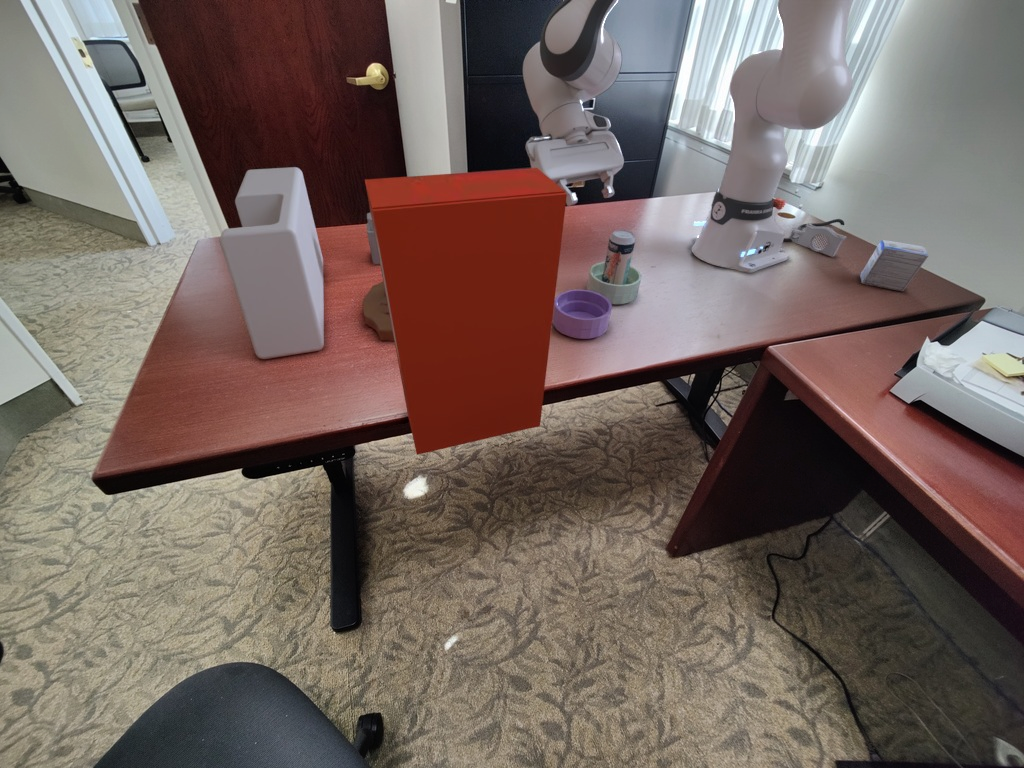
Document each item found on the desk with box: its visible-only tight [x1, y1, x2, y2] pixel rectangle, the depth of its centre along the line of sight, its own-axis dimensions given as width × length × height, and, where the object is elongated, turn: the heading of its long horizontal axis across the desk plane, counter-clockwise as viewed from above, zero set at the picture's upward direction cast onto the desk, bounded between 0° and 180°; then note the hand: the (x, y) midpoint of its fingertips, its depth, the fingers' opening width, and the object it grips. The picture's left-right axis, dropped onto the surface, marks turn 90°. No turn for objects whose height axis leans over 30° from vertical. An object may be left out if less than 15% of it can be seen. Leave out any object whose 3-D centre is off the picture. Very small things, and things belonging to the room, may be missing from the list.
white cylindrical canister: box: [602, 229, 636, 285], centre depth 86 cm, size 5×5×12 cm
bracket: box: [219, 166, 325, 360], centre depth 79 cm, size 30×10×30 cm, turn 18°
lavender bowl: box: [552, 288, 613, 340], centre depth 79 cm, size 10×10×4 cm
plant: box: [362, 281, 394, 342], centre depth 79 cm, size 20×20×11 cm
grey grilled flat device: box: [788, 222, 847, 258], centre depth 108 cm, size 12×2×6 cm, turn 34°
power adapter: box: [366, 210, 380, 265], centre depth 94 cm, size 3×5×12 cm, turn 15°
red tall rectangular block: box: [364, 167, 567, 456], centre depth 51 cm, size 8×17×32 cm, turn 109°
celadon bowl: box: [586, 261, 642, 305], centre depth 88 cm, size 10×10×4 cm
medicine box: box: [859, 239, 929, 292], centre depth 94 cm, size 8×4×9 cm, turn 65°
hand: (591, 200), depth 86 cm, fingers open, 8 cm apart
